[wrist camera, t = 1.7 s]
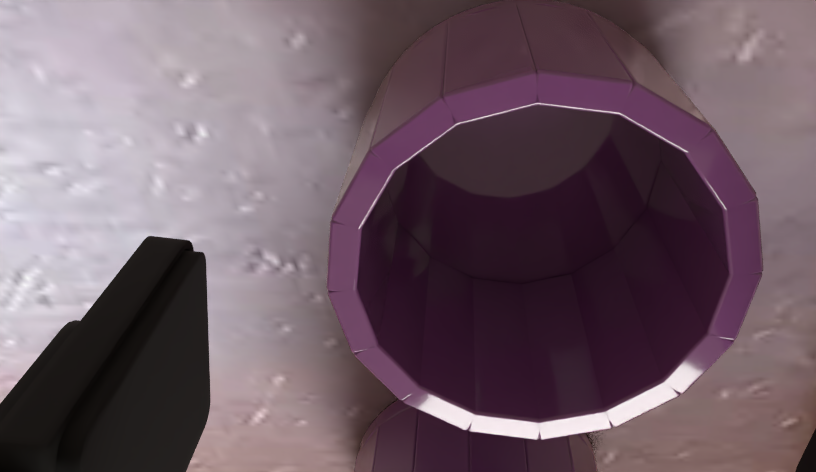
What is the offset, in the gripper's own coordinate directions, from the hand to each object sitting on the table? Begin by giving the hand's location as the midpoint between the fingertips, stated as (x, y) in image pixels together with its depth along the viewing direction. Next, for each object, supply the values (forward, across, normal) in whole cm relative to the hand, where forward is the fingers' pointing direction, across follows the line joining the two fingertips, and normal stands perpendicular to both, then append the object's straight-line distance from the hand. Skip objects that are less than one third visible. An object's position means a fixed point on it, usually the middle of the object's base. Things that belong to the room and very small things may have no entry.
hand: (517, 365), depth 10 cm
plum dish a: (+6, 0, -1) cm, 6 cm away
